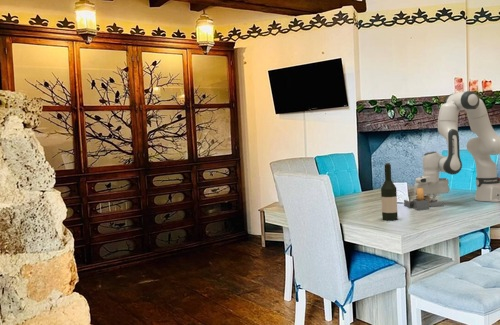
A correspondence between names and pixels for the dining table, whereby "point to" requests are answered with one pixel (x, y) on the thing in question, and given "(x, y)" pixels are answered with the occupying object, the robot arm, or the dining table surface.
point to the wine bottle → (389, 197)
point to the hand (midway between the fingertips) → (431, 201)
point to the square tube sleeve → (421, 204)
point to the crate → (426, 198)
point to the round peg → (420, 194)
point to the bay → (432, 204)
